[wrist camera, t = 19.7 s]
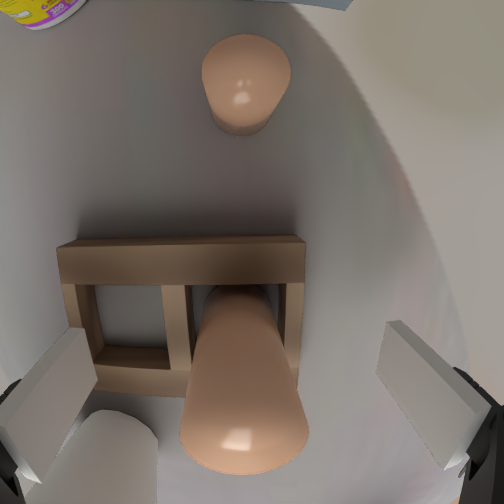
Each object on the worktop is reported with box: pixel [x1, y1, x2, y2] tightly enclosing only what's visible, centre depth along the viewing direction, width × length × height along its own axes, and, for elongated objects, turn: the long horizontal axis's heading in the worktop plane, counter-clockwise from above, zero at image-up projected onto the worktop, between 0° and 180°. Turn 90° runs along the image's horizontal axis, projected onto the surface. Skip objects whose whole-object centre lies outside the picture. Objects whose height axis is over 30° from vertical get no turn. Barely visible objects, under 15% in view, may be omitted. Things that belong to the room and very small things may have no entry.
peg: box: [179, 284, 309, 475], centre depth 13 cm, size 4×4×10 cm
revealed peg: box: [201, 34, 291, 136], centre depth 13 cm, size 3×3×6 cm
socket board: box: [56, 235, 306, 397], centre depth 17 cm, size 9×13×2 cm
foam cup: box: [24, 410, 158, 504], centre depth 13 cm, size 10×9×13 cm
